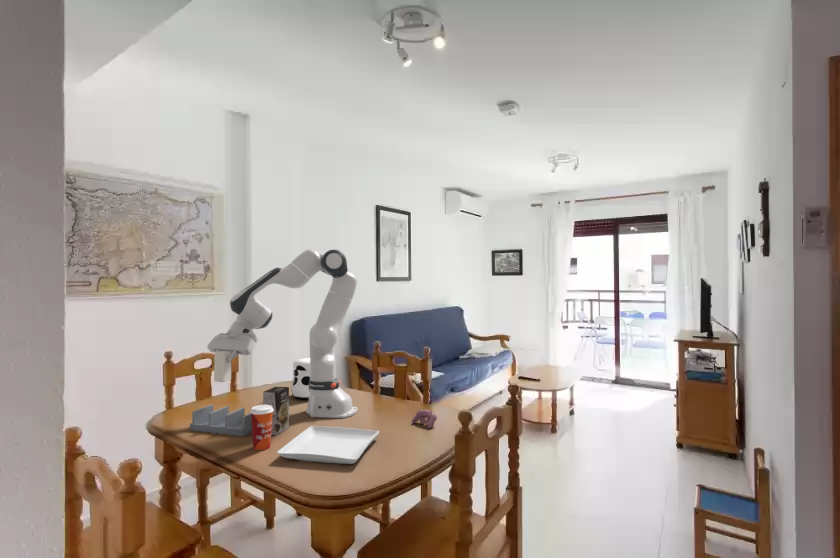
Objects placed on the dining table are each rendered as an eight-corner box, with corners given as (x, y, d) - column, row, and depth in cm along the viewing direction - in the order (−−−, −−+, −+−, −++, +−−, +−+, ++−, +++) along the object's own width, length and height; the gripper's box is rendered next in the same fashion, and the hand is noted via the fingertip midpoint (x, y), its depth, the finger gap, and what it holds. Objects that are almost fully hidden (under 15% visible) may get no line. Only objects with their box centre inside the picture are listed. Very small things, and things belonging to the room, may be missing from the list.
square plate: (356, 470, 136) (357, 458, 136) (274, 463, 141) (274, 451, 141) (380, 439, 162) (380, 428, 162) (310, 434, 167) (310, 424, 167)
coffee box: (277, 435, 165) (277, 392, 165) (262, 434, 166) (262, 391, 166) (289, 427, 174) (289, 386, 174) (274, 426, 175) (274, 385, 175)
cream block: (230, 380, 183) (231, 351, 183) (223, 382, 179) (223, 352, 179) (221, 379, 184) (222, 350, 184) (214, 381, 180) (214, 352, 180)
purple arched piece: (435, 431, 175) (440, 413, 177) (428, 428, 172) (433, 410, 174) (416, 425, 182) (421, 408, 184) (409, 422, 179) (415, 405, 181)
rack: (262, 426, 175) (262, 408, 175) (243, 436, 163) (243, 417, 163) (212, 420, 181) (212, 403, 181) (189, 430, 170) (189, 412, 170)
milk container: (334, 395, 223) (334, 359, 223) (309, 403, 208) (309, 365, 208) (309, 390, 231) (309, 356, 231) (283, 398, 217) (283, 361, 217)
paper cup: (259, 453, 148) (260, 411, 148) (245, 448, 152) (245, 408, 152) (278, 446, 154) (278, 406, 154) (264, 441, 158) (264, 402, 158)
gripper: (214, 328, 191) (197, 354, 182) (255, 330, 185) (238, 357, 176) (222, 337, 195) (205, 363, 186) (261, 340, 190) (246, 366, 180)
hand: (221, 360), depth 181 cm, fingers closed on cream block, 4 cm apart
